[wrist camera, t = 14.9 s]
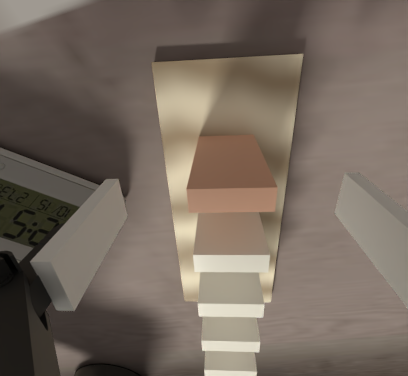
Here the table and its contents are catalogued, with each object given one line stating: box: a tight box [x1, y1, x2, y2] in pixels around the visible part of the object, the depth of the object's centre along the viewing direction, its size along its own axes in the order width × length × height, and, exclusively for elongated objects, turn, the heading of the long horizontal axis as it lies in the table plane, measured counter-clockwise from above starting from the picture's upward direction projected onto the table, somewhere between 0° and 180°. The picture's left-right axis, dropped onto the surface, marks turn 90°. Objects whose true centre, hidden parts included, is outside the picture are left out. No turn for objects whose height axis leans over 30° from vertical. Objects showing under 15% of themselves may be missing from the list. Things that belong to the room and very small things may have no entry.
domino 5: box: [204, 351, 257, 376], centre depth 27 cm, size 2×5×10 cm, turn 93°
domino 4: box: [201, 317, 260, 352], centre depth 25 cm, size 2×5×10 cm, turn 93°
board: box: [151, 54, 303, 302], centre depth 26 cm, size 30×12×1 cm, turn 3°
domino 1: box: [186, 135, 278, 213], centre depth 18 cm, size 2×5×10 cm, turn 93°
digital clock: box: [0, 148, 126, 263], centre depth 22 cm, size 16×9×11 cm, turn 55°
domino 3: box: [198, 272, 265, 318], centre depth 23 cm, size 2×5×10 cm, turn 93°
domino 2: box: [193, 212, 270, 273], centre depth 20 cm, size 2×5×10 cm, turn 93°
